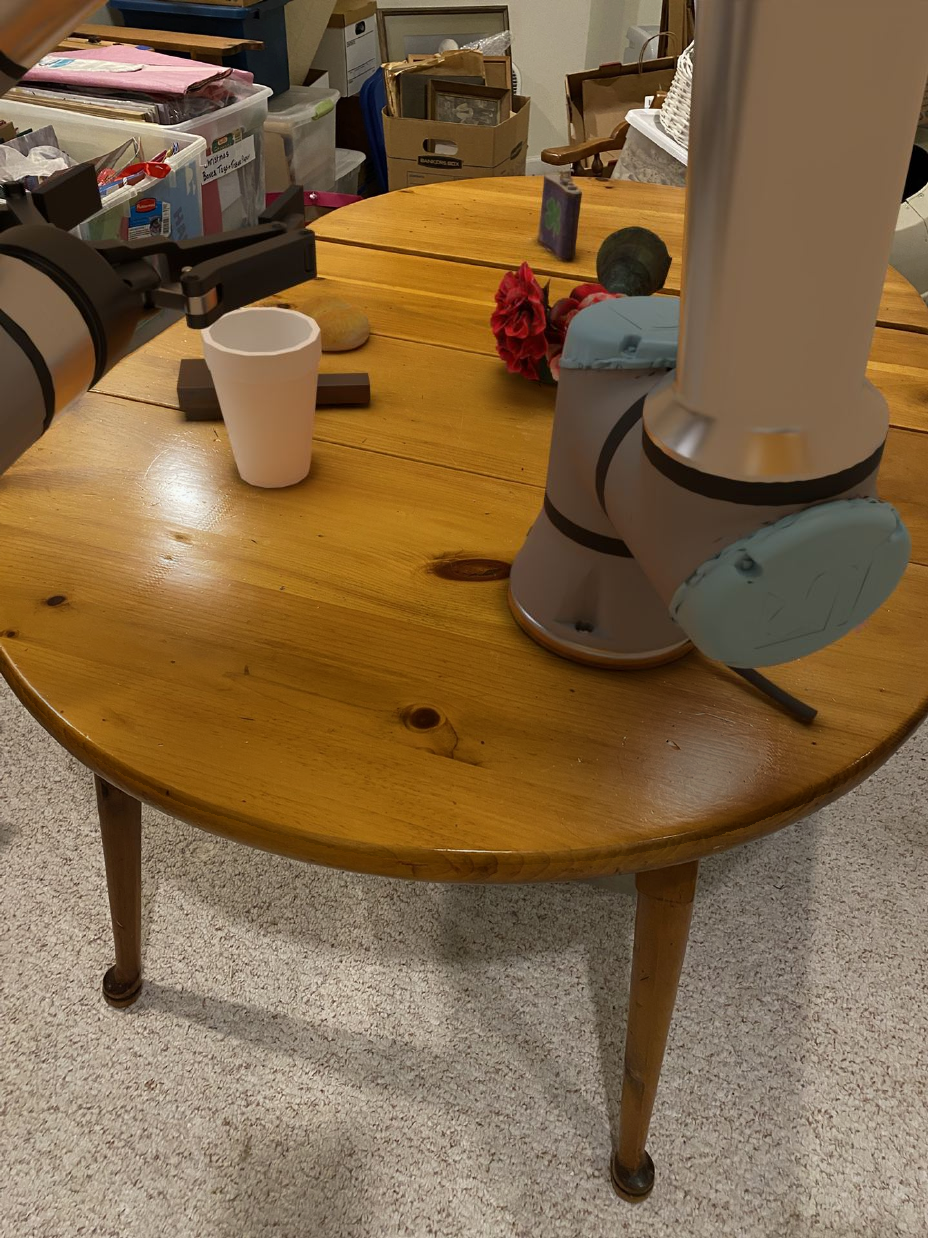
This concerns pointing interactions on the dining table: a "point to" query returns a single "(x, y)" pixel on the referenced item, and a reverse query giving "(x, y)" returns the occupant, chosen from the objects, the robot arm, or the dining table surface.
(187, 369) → the brush
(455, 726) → the dining table surface
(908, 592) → the dining table surface
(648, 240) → the carnation
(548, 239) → the flask
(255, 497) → the dining table surface
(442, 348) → the dining table surface
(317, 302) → the bread roll
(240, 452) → the foam cup
